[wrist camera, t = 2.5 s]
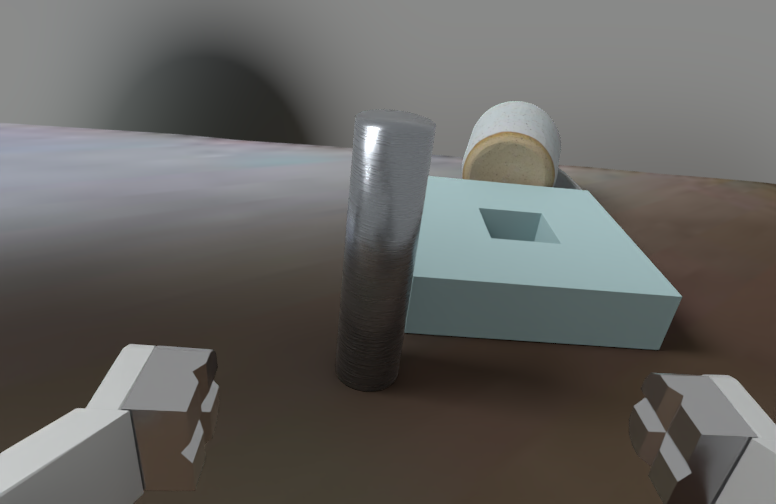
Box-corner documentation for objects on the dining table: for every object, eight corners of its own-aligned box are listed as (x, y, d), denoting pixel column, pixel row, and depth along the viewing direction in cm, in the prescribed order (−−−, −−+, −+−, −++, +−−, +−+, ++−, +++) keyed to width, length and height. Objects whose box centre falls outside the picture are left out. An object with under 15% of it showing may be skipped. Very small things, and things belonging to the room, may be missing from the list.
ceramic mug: (450, 212, 43) (470, 115, 39) (463, 177, 50) (480, 92, 47) (588, 241, 42) (621, 144, 38) (581, 201, 49) (609, 116, 45)
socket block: (404, 332, 29) (413, 276, 27) (394, 217, 41) (399, 173, 39) (659, 349, 30) (682, 296, 28) (574, 232, 42) (587, 190, 41)
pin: (333, 389, 25) (354, 128, 19) (336, 346, 27) (356, 106, 22) (399, 393, 25) (440, 137, 19) (396, 350, 28) (431, 113, 22)
